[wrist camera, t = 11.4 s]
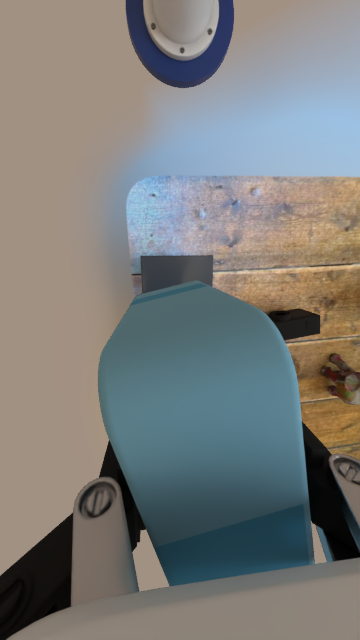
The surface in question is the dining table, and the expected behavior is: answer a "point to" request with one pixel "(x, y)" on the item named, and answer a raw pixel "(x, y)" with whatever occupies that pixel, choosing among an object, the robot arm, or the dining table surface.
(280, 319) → the digital camera
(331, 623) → the robot arm
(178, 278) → the plinth
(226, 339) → the data package
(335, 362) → the figurine
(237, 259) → the dining table surface
